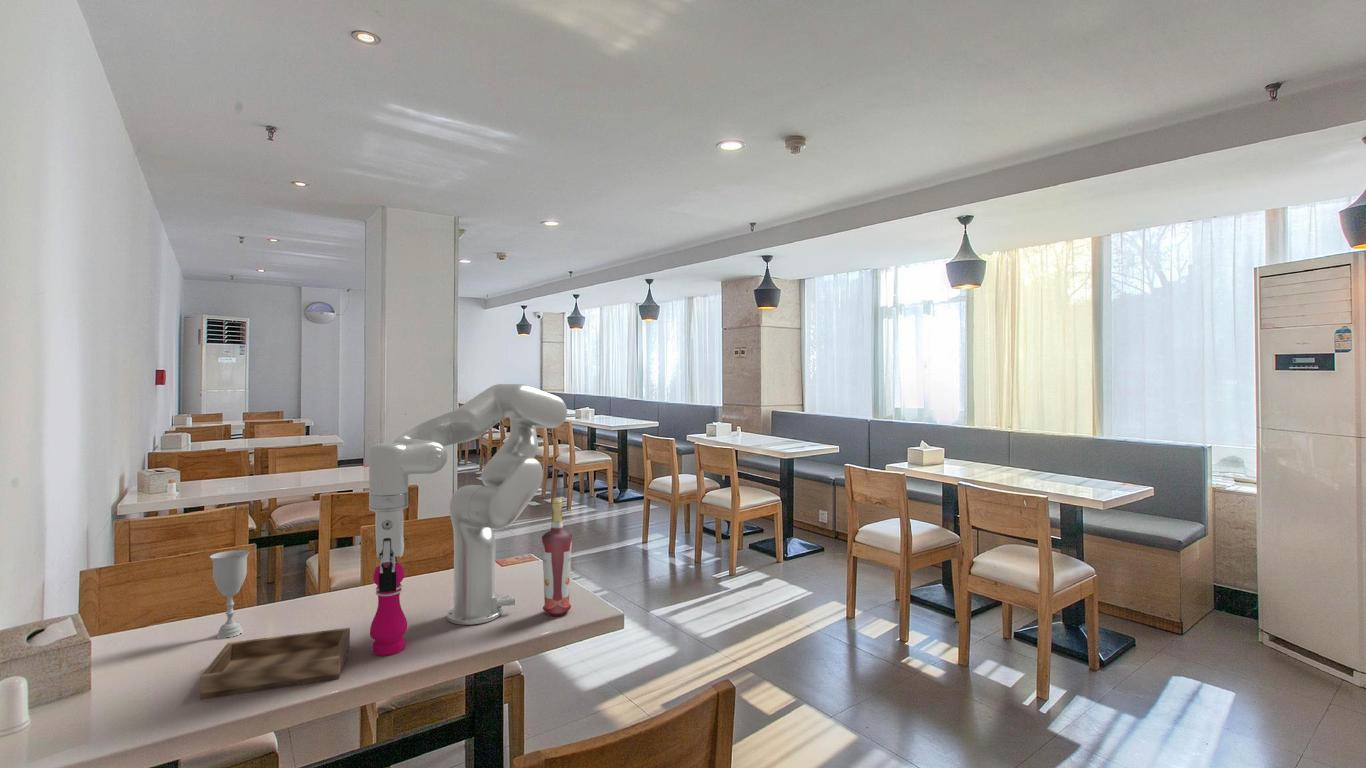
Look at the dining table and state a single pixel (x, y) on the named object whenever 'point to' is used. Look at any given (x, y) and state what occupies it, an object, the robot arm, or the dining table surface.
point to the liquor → (556, 563)
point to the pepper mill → (389, 618)
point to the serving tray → (276, 662)
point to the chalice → (229, 584)
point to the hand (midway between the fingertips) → (388, 585)
